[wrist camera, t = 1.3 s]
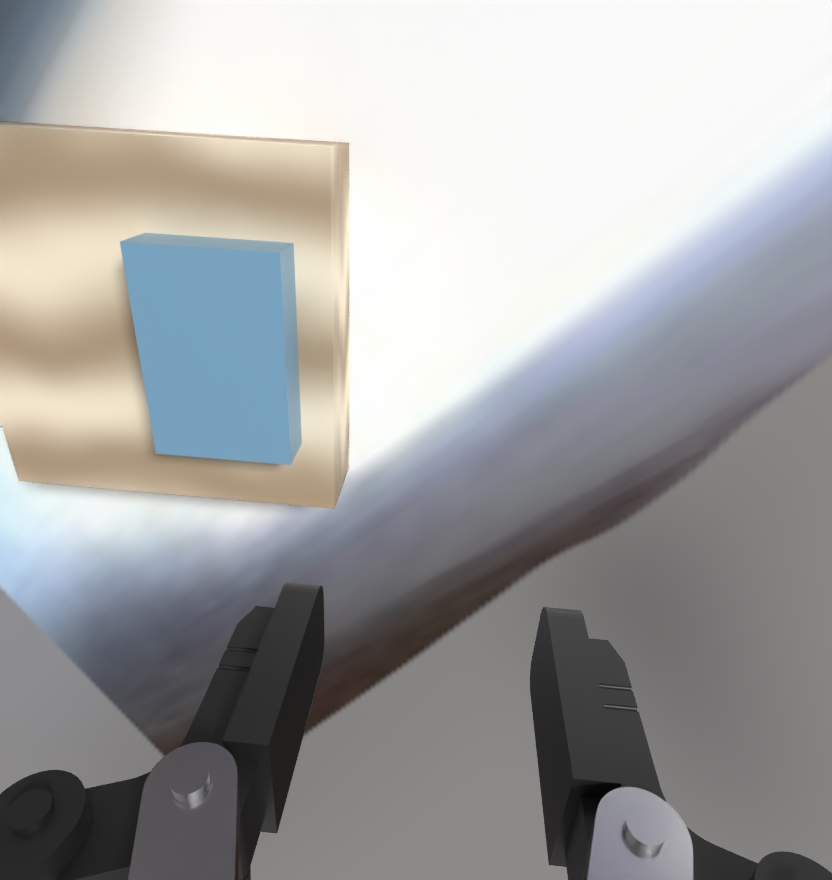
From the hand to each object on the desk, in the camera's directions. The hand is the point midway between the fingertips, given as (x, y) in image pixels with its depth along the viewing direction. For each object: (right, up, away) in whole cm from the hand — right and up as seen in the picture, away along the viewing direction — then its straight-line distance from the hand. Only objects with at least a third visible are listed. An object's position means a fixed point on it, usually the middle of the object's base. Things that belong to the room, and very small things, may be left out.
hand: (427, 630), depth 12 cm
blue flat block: (-8, +8, +14) cm, 18 cm away
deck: (-12, +10, +18) cm, 23 cm away
